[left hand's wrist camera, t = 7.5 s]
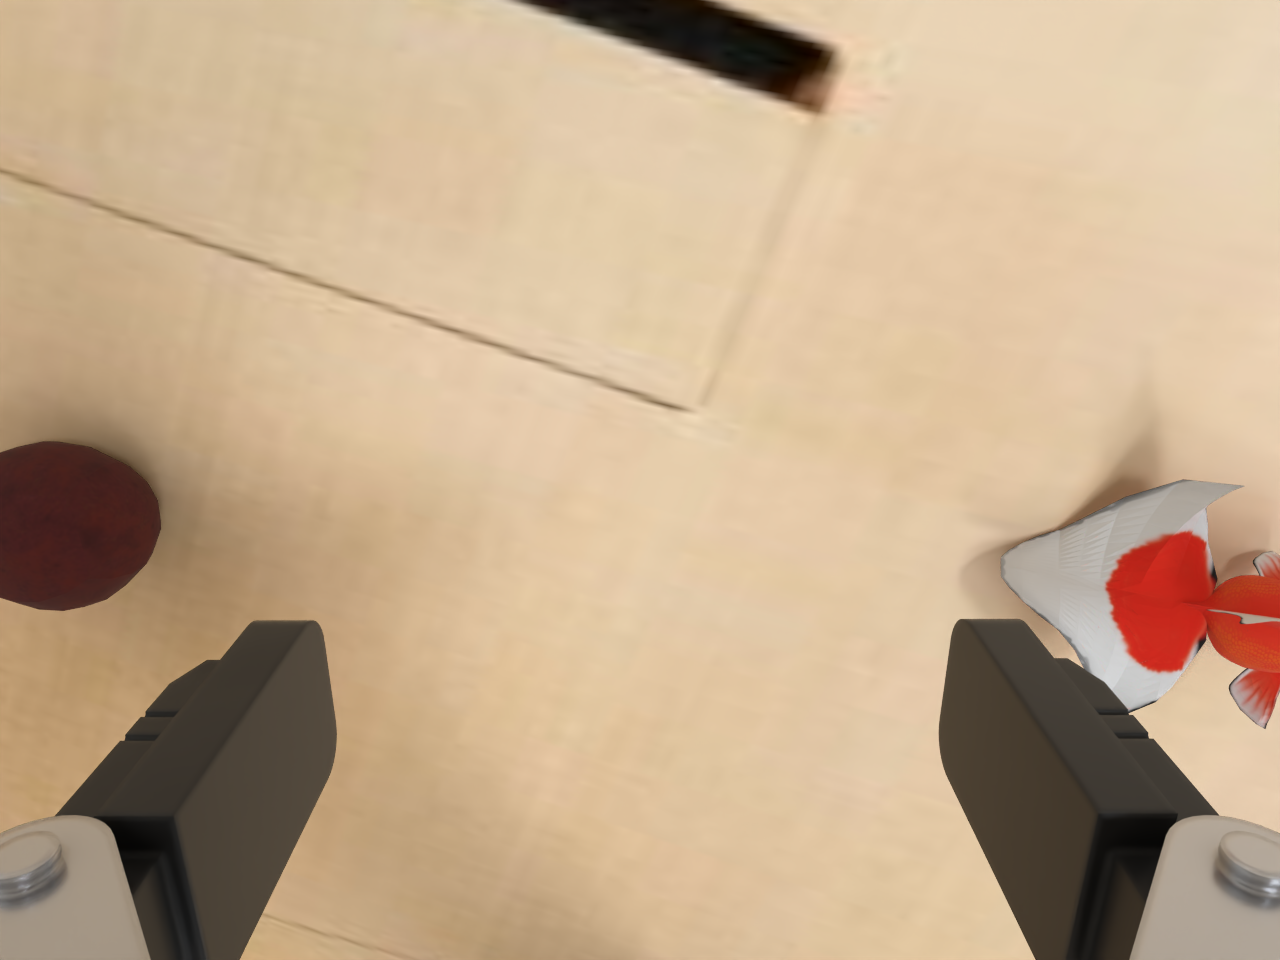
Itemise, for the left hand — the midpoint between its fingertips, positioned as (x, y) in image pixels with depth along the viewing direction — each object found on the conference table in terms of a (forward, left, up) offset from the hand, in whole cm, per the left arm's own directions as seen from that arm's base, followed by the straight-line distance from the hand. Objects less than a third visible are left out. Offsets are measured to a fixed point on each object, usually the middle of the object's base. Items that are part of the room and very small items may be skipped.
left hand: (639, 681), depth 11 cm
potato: (-9, +25, -29) cm, 39 cm away
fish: (-13, -24, -29) cm, 40 cm away
